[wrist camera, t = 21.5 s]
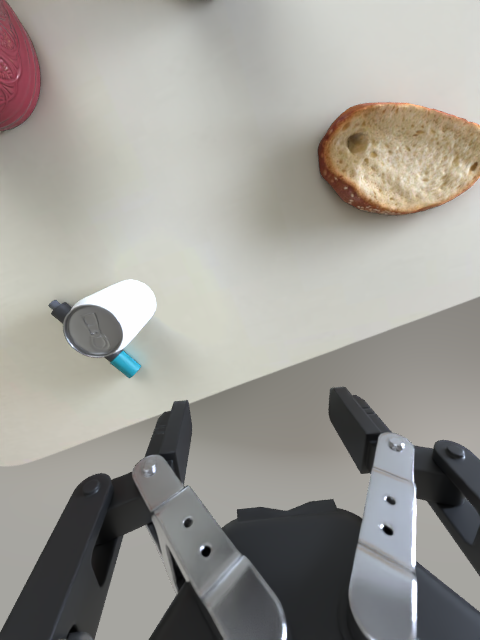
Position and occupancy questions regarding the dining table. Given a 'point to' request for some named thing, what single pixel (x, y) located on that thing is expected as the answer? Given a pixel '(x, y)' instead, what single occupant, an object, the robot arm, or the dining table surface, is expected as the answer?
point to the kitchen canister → (16, 70)
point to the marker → (116, 359)
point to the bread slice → (399, 157)
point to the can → (109, 318)
